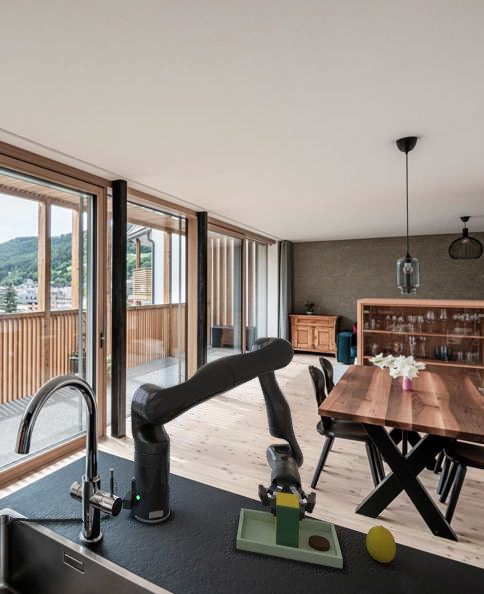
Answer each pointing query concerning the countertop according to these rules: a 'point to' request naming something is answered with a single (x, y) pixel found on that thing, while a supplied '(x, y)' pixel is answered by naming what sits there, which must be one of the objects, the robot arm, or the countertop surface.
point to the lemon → (381, 544)
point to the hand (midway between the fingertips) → (287, 514)
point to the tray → (262, 538)
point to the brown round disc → (319, 543)
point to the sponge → (287, 520)
